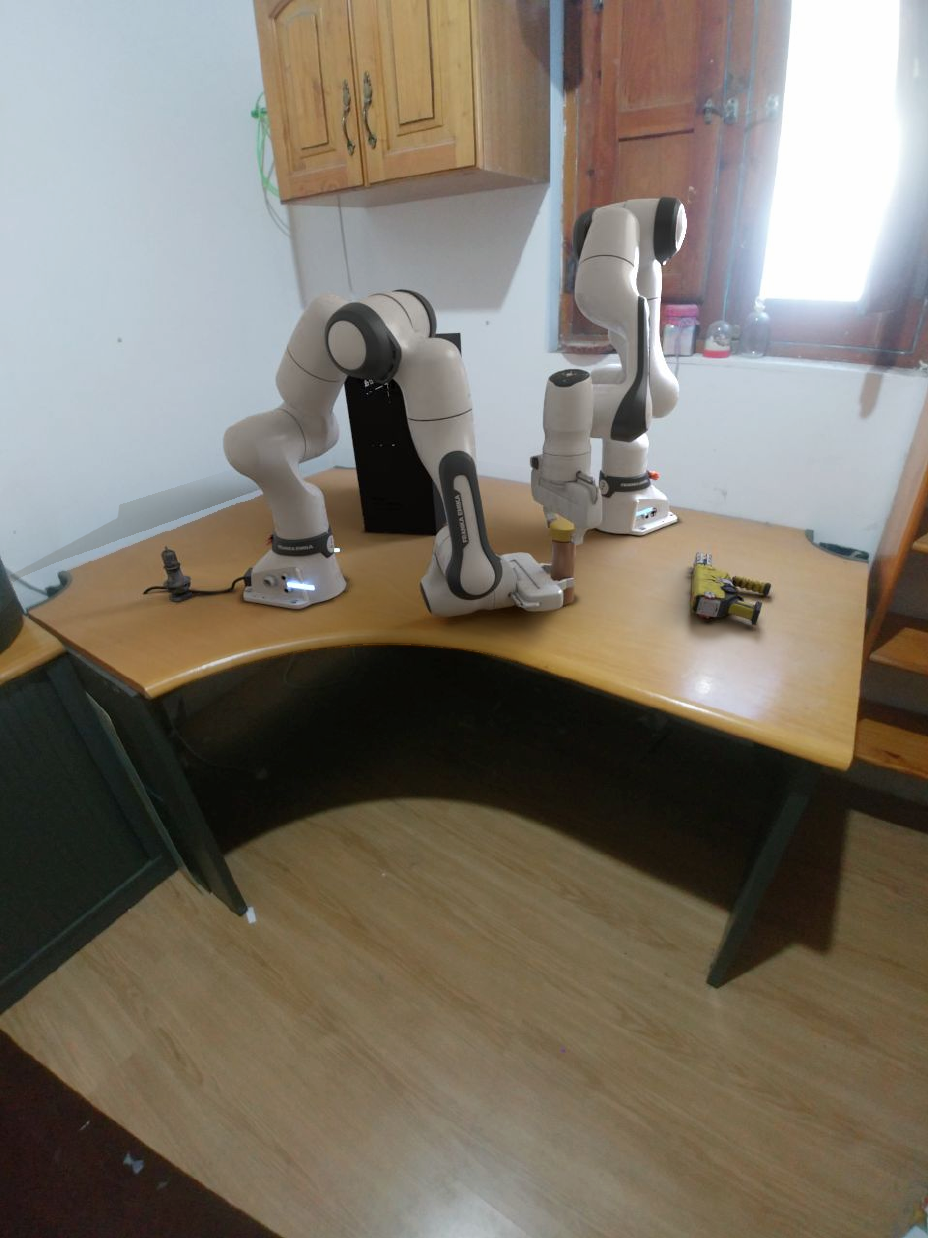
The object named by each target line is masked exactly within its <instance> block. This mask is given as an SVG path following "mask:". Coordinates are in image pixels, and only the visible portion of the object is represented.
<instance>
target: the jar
mask: <svg viewBox="0 0 928 1238" xmlns="http://www.w3.org/2000/svg"><path fill="white" fill-rule="evenodd" d="M550 539H551V538H550ZM550 549H551V550H550V564H551V574H550V577H551V578H552V580H553V581H556V580H558V582H559V581H561V580H563V577H568V576H571V577H572V578H573V579H574V586H573V587H570V588H566V589H565V590H563V605H562V606H566V605H570V604H572V603H574V601H575V581H576V580H575V579H576V563H577V562H576V561H577V560H576V559H577V546H576V545H574V544H573V543H571V541H556V540H553V539H551V541H550Z"/></svg>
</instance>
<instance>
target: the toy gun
mask: <svg viewBox="0 0 928 1238" xmlns="http://www.w3.org/2000/svg"><path fill="white" fill-rule="evenodd" d="M703 553H704V552H702V551H698V552H696V553H695V557H694V560H693V565H692V566H693V568H692V570H693V571H692V576H691V599H690V601H691V602H690V603H691V604H690V610H691V612H692V614H697V615H699V617H700V618H705V619H710V617H712V618H722V617H724V616H726V615H727V614H729V615H732V616H737V617H740V618H743V619H746V620H748V621H751V625H752V626H756V625H757V623H758V619H759V616H760V613H761V610H762V606H763V602H762V601H759V600H756V601H755V603H754V604H753V603H749V602H746V601H745V600H744V597H743V596H741V595H739V593H740V592H739V588H740V589H741V590H743V589H745V590H746V591H752V592H754V593H758V594H761V595H763V596H768V595H769V594H770V591H771V588H772V584H771V583H770V582H764V581H762V582H761V581H760V580H754V579H752V578H747V577H746V576H743V577H741V576H740V575H736V574H735V575H734V576H732V577H731V576H730V574H729V573H728V571H724V570H721V569H717V568H715V567H714V566H713V556H712V554H711V553H708V552H706V554H705V555H704V554H703Z"/></svg>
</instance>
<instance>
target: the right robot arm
mask: <svg viewBox="0 0 928 1238" xmlns="http://www.w3.org/2000/svg"><path fill="white" fill-rule="evenodd" d="M685 212H686V211H685V207H684V205H683V203H682V202H681V200H680V199H679V198H677V197H671V196H661V197H660V198H634V199H633V198H632V199H627V201H620V202H616V203H612V204H611V203H610V204H607V205H604V206H601V207H598V206H593V207H590V208H588V209H586V210H584V211H582V212H581V213H580V214H579V215H578V217H577V218H576V219H575V222H574V225H573V229H572V238H571V240H572V241H571V242H572V243H571V244H572V252H573V255H574V258H575V260H576V261H577V262H578V266H577V270H576V276H575V281H574V282H575V284H574V300H575V304H576V307H577V308H578V310H579V311H580V312H581V314H582V315H583V316H584V317H585V318H586V319H587V320H588V321H590V322H592V323H593V324H595V325H597V326H599V327H602V328H604V329H607V339H608V341H609V343H610V345H611V346H612V347H613V348H614V349H615V351H616V353H617V355H618V358H619V360H620V363H616V362H615V363H607V364H603V365H598V366H597V367H594V369H592V371H591V372H588V371H587V370H583V369H580V368H566V369H563V370H559V371H555V372H554V373H552V374H551V375H550V376H549V377H548V378H547V381H546V384H545V385H546V386H545V392H544V400H543V408H542V409H543V411H542V428H543V432H544V440H543V445H542V452H541V453H540V454H536V455H531V456H530V457H529V467H530V468H531V471H530V491H531V492H530V493H531V496H532V499H533V501H534V502H536V503H537V504H539V505H541V506H542V511H543V514H544V517H545V520H546V521H545V526H546V528H548V529H549V526H550V523H551V522H553V521H556V520H558V519H557V518H556V514H557V515H558V516H560V517H562V519H563V518H564V519H566V520H568V521H570V522H572V523H573V524H574V529H576V530H575V533H574V534H572V535H571V543H573V544H574V545H576V547H577V546H581V545H582V544H583V543H584V536H585V534H586V532H587V531H588V530H592V529H597V530H599V531H601V532H605V533H611V534H623V535H625V534H626V535H632V536H633V535H634V536H645V535H646V534H650V533H652V532H654V531H657V530H660V529H662V528H665V527H668V526H670V525H672V524H675V523H677V522H678V516H677V515H676V514H675V513H674V512H672V511H670V503H669V502H670V501H669V498H668V497H667V496H666V495H665V494H664V493H663V492H661V491H660V490H659V489H658V488H656V487H655V486H654V485H652V483H651V480H653V481H658V479H659V478H660V473H659V472H657V471H654V470H651V471H649V470H648V469H647V466H648V458H649V457H648V455H649V447H650V442H649V437H648V435H647V434H646V433H647V432H648V431H649V427H650V425H651V424H652V423H651V422H652V420H653V419H662V418H664V417H667V416H668V415H669V414H671V413H672V412H673V410H674V409H675V407H676V406H677V404H678V401H679V398H680V384H679V381H678V379H677V378H676V377H675V375H674V374H673V373H672V372H671V370H670V368H669V366H668V364H667V362H666V359H665V357H664V353H663V350H662V344H661V338H660V319H661V318H660V317H661V298H662V297H661V295H662V267H663V266H665V265H666V263H667V261H669V260H671V259H673V257H674V256H675V255H676V254H677V253H678V252H679V251H680V249H681V247H682V243H683V240H684V238H685V234H686V231H687V217H686V213H685ZM591 439H599V440H601V441H602V442H601V443H602V444H601V445H602V447H601V468H600V470H599V474H598V484H597V482H596V479H595V478H594V477H593V476H591V467H592V466H591V464H592V443H591Z"/></svg>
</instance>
